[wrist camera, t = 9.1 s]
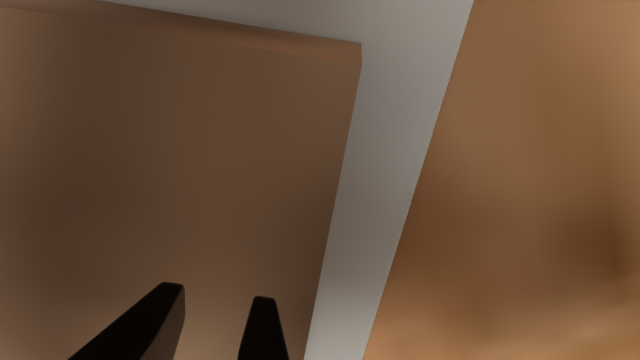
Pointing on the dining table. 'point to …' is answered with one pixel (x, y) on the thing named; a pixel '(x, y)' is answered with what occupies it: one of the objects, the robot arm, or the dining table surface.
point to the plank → (163, 171)
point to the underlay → (364, 137)
